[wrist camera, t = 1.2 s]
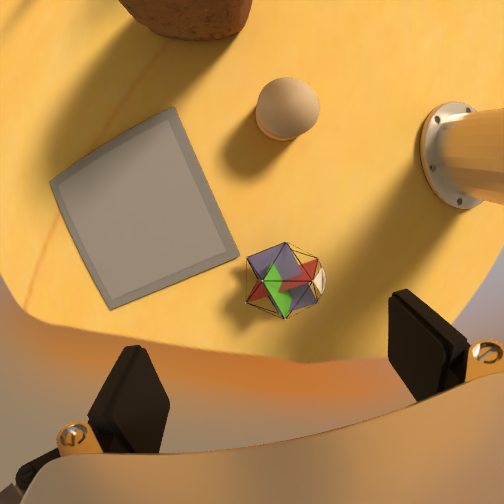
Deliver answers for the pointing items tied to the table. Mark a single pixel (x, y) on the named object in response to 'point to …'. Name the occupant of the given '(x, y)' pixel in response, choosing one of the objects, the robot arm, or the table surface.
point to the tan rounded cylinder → (286, 109)
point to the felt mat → (143, 211)
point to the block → (191, 17)
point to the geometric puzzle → (285, 279)
